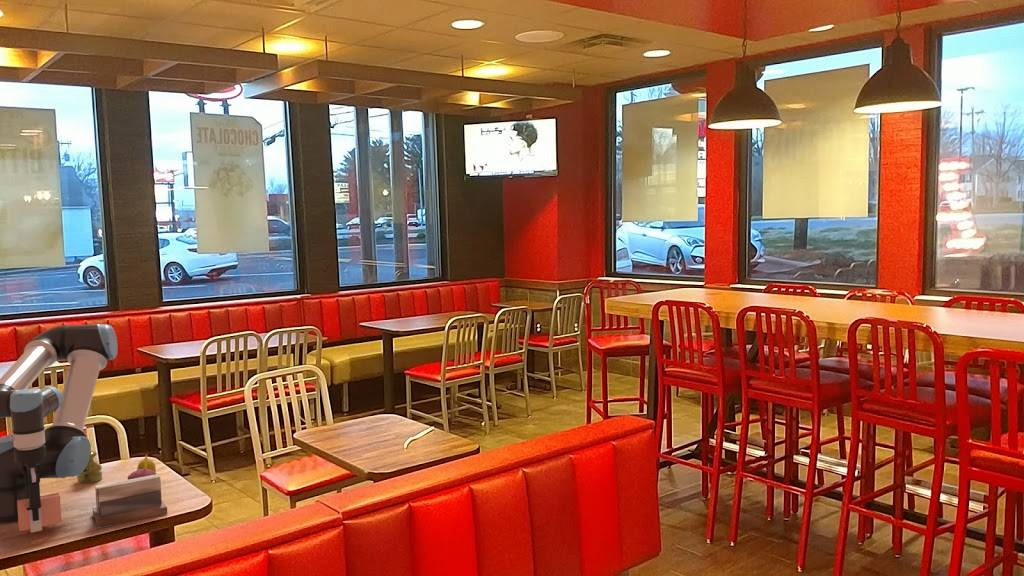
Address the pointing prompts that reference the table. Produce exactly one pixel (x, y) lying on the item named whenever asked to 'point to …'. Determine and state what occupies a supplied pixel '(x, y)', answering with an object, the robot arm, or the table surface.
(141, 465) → the lemon
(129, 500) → the ticket holder
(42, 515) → the stub
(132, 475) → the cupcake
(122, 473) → the table surface
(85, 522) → the table surface
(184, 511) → the table surface
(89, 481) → the christmas tree figurine
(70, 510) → the table surface
